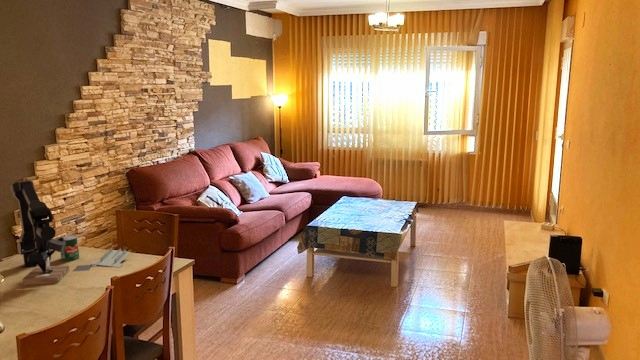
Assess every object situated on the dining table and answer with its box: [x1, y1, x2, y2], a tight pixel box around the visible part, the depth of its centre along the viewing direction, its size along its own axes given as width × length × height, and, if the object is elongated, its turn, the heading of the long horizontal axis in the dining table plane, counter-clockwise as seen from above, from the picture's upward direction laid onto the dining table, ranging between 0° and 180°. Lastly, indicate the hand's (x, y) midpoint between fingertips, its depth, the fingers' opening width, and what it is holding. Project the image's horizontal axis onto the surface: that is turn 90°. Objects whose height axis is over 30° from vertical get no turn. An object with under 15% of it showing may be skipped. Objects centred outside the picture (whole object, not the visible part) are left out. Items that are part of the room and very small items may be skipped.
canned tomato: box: [60, 234, 80, 262], centre depth 242 cm, size 8×8×11 cm
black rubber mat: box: [72, 264, 93, 272], centre depth 231 cm, size 7×7×1 cm
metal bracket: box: [90, 248, 131, 269], centre depth 238 cm, size 14×6×15 cm
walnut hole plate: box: [21, 264, 71, 286], centre depth 220 cm, size 14×14×3 cm
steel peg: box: [42, 255, 51, 274], centre depth 219 cm, size 3×3×8 cm
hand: (46, 269), depth 219 cm, fingers closed on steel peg, 3 cm apart
